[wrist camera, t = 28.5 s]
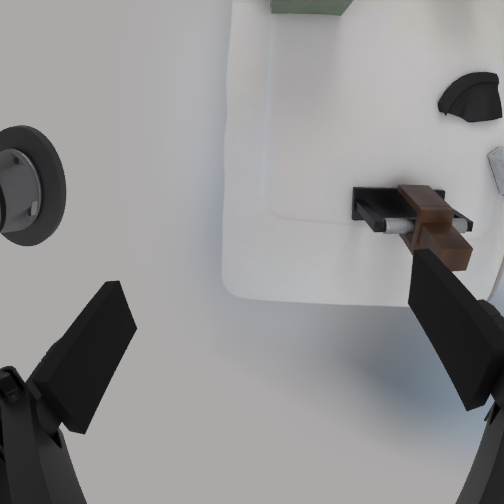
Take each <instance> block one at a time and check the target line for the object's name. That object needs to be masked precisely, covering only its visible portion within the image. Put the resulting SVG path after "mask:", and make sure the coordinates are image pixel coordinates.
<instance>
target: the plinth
mask: <svg viewBox="0 0 504 504" xmlns="http://www.w3.org/2000/svg"><path fill="white" fill-rule="evenodd" d="M352 1H353V0H270V3H271V13H308V14H329V15H342V14H343V12H344V11H345V10H346V9H347V7H348V6H349V5H350V4H351V3H352Z"/></svg>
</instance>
